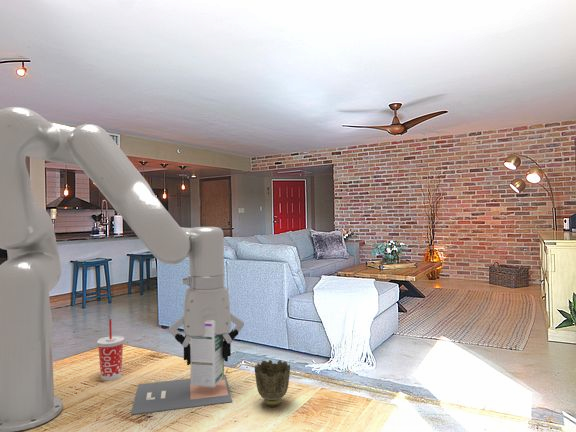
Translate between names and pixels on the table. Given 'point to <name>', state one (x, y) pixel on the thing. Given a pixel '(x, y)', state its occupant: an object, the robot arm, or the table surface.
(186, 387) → the mat
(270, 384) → the cup
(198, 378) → the syrup box
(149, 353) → the table surface
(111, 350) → the beverage cup
